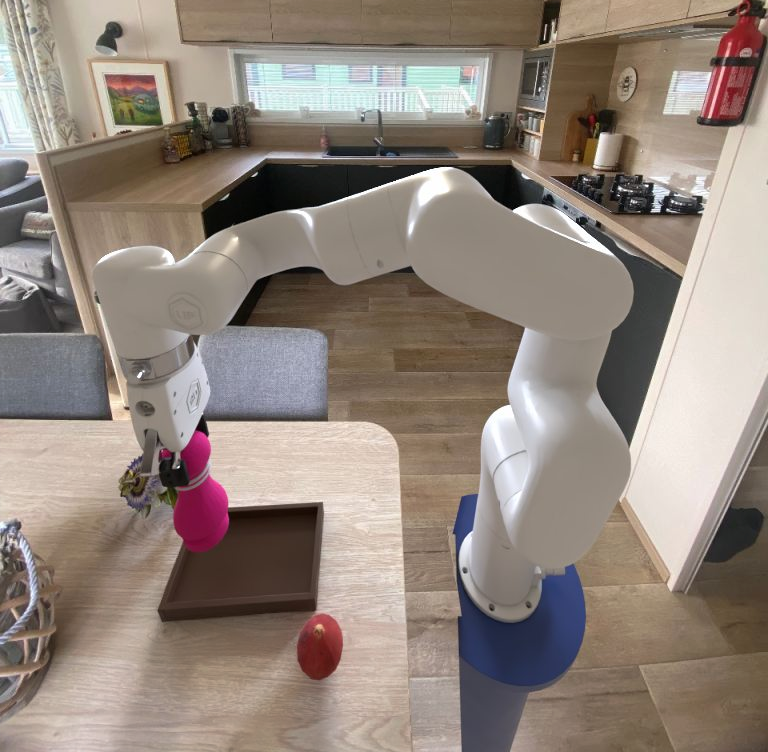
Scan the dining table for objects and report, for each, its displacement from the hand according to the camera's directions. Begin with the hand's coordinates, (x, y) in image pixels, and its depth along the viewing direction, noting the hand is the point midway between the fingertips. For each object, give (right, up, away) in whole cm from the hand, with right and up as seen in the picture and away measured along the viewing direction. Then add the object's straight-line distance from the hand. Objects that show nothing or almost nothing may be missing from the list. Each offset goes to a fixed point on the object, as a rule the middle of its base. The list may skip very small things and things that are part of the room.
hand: (187, 459), depth 52 cm
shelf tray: (+5, -22, +9) cm, 24 cm away
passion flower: (-14, -17, +19) cm, 30 cm away
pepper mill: (0, -14, +6) cm, 15 cm away
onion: (+18, -26, -1) cm, 32 cm away
